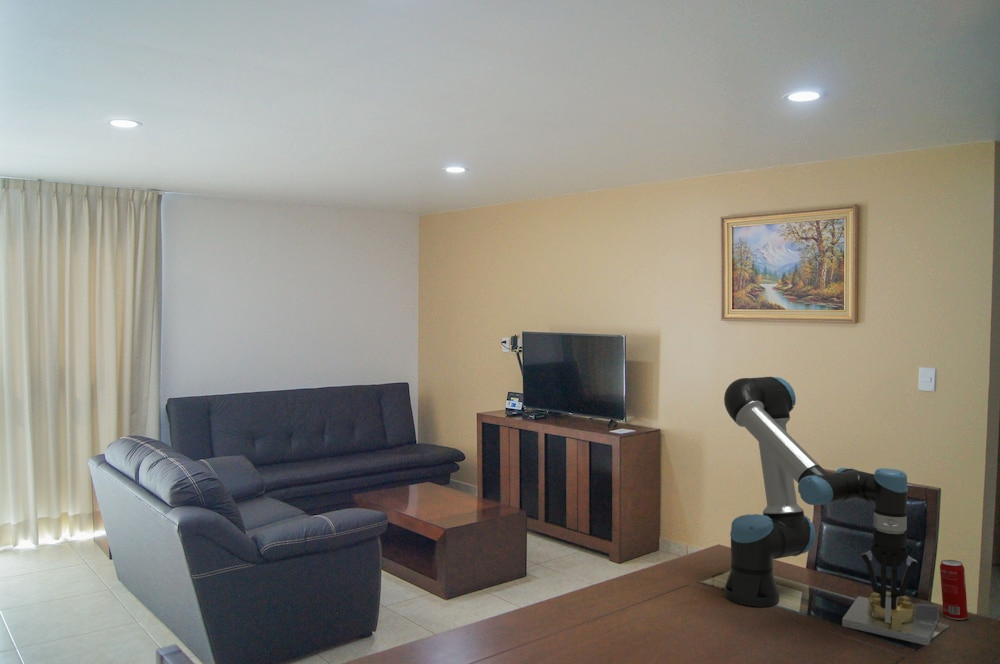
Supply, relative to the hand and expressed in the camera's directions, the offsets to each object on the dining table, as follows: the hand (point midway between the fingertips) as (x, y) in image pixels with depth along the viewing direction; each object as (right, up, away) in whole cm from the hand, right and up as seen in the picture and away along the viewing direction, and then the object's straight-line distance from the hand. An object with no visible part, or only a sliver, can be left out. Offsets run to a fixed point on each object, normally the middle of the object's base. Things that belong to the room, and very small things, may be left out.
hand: (887, 620), depth 189 cm
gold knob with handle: (+4, -1, +5) cm, 7 cm away
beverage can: (+24, -4, +12) cm, 27 cm away
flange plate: (+5, -4, +8) cm, 10 cm away
